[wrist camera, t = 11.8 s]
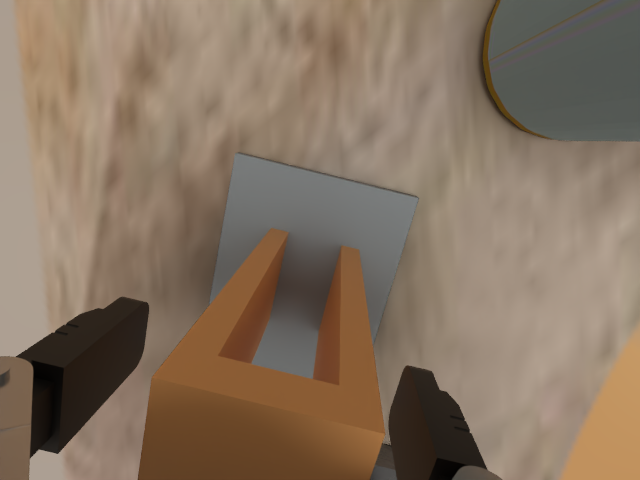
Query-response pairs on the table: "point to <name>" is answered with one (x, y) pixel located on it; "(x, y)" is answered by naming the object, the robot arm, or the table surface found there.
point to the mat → (309, 247)
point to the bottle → (566, 67)
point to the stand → (384, 465)
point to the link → (267, 388)
